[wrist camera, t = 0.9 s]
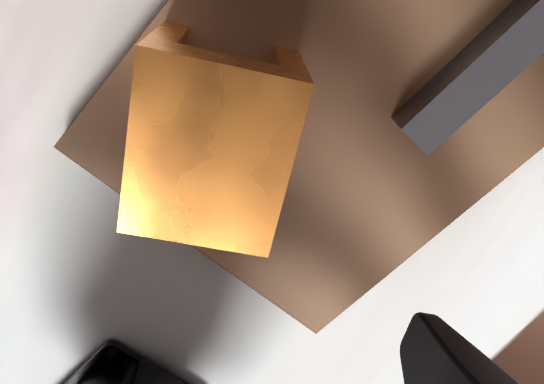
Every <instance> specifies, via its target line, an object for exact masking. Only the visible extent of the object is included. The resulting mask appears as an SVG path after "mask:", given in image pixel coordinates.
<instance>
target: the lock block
mask: <svg viewBox="0 0 544 384" xmlns="http://www.w3.org/2000/svg"><path fill="white" fill-rule="evenodd" d="M189 29H190V26H186V25H182V24H177V23H173V22H169V21H164V22H163V23H162V24H160V25H159V26H158V27H157V28H156V29H154V30H153V31H152V32H151V33H150V34H148V35H147V36H146V37H145V38H144V39H142V40H141V41H140V42H139V43H137V44H136V50H135V59H134V69H133V79H132V88H131V98H130V108H129V117H128V127H127V137H126V146H125V156H124V166H123V175H122V185H121V195H120V204H119V214H118V224H117V232H118V233H124V234H130V235H136V236H142V237H148V238H154V239H159V240H165V241H171V242H177V243H183V244H189V245H195V246H201V247H207V248H213V249H219V250H225V251H231V252H237V253H243V254H249V255H255V256H261V257H266V258H268V256H269V253H270V249H271V245H272V241H273V238H274V234H275V230H276V227H277V223H278V219H279V215H280V212H281V208H282V204H283V200H284V197H285V193H286V189H287V186H288V182H289V178H290V174H291V171H292V167H293V163H294V159H295V156H296V152H297V148H298V144H299V141H300V137H301V133H302V130H303V126H304V122H305V118H306V115H307V111H308V107H309V103H310V100H311V96H312V92H313V89H314V85H315V84H314V82H313V80H312V78H311V75H310V73H309V71H308V69H307V67H306V65H305V63H304V61H303V59H302V57H301V55H300V53H299V51H295V50H291V49H287V48H282V47H278V46H275V50H274V55H273V59H272V64H270V63H265V62H261V61H256V60H252V59H247V58H243V57H239V56H234V55H230V54H225V53H221V52H216V51H212V50H207V49H203V48H198V47H194V46H189V45H187V42H188V36H189Z"/></svg>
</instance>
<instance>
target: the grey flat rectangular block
mask: <svg viewBox="0 0 544 384" xmlns="http://www.w3.org/2000/svg"><path fill="white" fill-rule="evenodd" d="M543 53H544V0H514V1H513V2H512V3H510V4H509V5H508V6H507V7H506V8H505V9H504V10H503V11H502V12H501V13H500V14H499V15H498V16H497V17H496V18H495V19H494V20H493V21H491V22H490V23H489V24H488V25H487V26H486V27H485V28H484V29H483V30H482V31H481V32H480V33H479V34H478V35H477V36H476V37H475V38H474V39H473V40H471V41H470V42H469V43H468V44H467V45H466V46H465V47H464V48H463V49H462V50H461V51H460V52H459V53H458V54H457V55H456V56H455V57H454V58H452V59H451V60H450V61H449V62H448V63H447V64H446V65H445V66H444V67H443V68H442V69H441V70H440V71H439V72H438V73H437V74H436V75H435V76H433V77H432V78H431V79H430V80H429V81H428V82H427V83H426V84H425V85H424V86H423V87H422V88H421V89H420V90H419V91H418V92H417V93H416V94H415V95H413V96H412V97H411V98H410V99H409V100H408V101H407V102H406V103H405V104H404V105H403V106H402V107H401V108H400V109H399V110H398V111H397V112H396V113H394V114H393V115H392V116H391V118H392V119H393V120H394V122H395V123H396V124H397V125H398V126H399V128H400V129H401V130H402V131H403V132H404V133H405V134H406V135H407V136H408V137H409V138H410V139H411V140H412V141H413V142H414V143H415V144H416V145H417V146H418V147H419V148H420V149H421V150H422V151H423V152H424V153H425V154H426V155H427V156H428V155H429V154H431V153H432V152H433V151H434V150H435V149H436V148H437V147H438V146H440V145H441V144H442V143H443V142H444V141H445V140H446V139H447V138H449V137H450V136H451V135H452V134H453V133H454V132H455V131H456V130H458V129H459V128H460V127H461V126H462V125H463V124H464V123H465V122H467V121H468V120H469V119H470V118H471V117H472V116H473V115H474V114H476V113H477V112H478V111H479V110H480V109H481V108H482V107H483V106H485V105H486V104H487V103H488V102H489V101H490V100H491V99H492V98H494V97H495V96H496V95H497V94H498V93H499V92H500V91H501V90H503V89H504V88H505V87H506V86H507V85H508V84H509V83H510V82H512V81H513V80H514V79H515V78H516V77H517V76H518V75H519V74H521V73H522V72H523V71H524V70H525V69H526V68H527V67H528V66H530V65H531V64H532V63H533V62H534V61H535V60H536V59H537V58H539V57H540V56H541V55H542V54H543Z"/></svg>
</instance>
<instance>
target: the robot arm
mask: <svg viewBox="0 0 544 384" xmlns="http://www.w3.org/2000/svg"><path fill="white" fill-rule="evenodd" d="M109 349H112V350H114V351H111V350H109ZM400 358H401V364H402V371H403V377H404V384H519V383H518V382H517V381H516V380H515V379H513V378H512V377H511V376H510V375H508V374H507V373H506V372H505V371H504V370H503V369H501V368H500V367H499V366H498V365H496V364H495V363H494V362H493V361H492V360H490V359H489V358H488V357H487V356H486V355H484V354H483V353H482V352H481V351H480V350H478V349H477V348H476V347H475V346H473V345H472V344H471V343H470V342H469V341H467V340H466V339H465V338H464V337H463V336H461V335H460V334H459V333H458V332H456V331H455V330H454V329H453V328H452V327H450V326H449V325H448V324H447V323H446V322H444V321H443V320H442V319H441V318H440V317H438V316H436V315H433V314H427V313H421V312H418V313H416V314H415V315H414V316H413V317H412V319H411V322H410V324H409V326H408V328H407V330H406V333H405V335H404V337H403V339H402V342H401V345H400ZM64 384H189V383H187V382H186V381H184V380H182V379H181V378H179V377H177V376H175V375H174V374H172V373H170V372H169V371H167V370H165V369H164V368H162V367H160V366H159V365H157V364H155V363H153V362H152V361H150V360H148V359H147V358H145V357H143V356H142V355H140V354H138V353H137V352H135V351H133V350H132V349H130V348H128V347H126V346H125V345H123V344H121V343H120V342H118V341H115V340H109V341H107V342H105V343H104V344H103V345H102V346H101V347H100V348H99V349H98V350H97V351H96V352H95V353H94V354H93V355H92V356H91V357H90V358H89V359H88V360H87V361H86V362H85V363H84V364H83V365H82V366H81V367H80V368H79V369H78V370H77V371H76V372H75V373H74V374H73V375H72V376H71V377H70V378H69V379H68V380H67V381H66V382H65V383H64Z"/></svg>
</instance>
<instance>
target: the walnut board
mask: <svg viewBox="0 0 544 384" xmlns="http://www.w3.org/2000/svg"><path fill="white" fill-rule="evenodd" d="M513 1H514V0H168V1H167V3H166V4H165V5H164V6H163V8H162V9H161V10H160V11H159V13H158V14H157V15H156V17H155V18H154V19H153V20H152V22H151V23H150V24H149V26H148V27H147V28H146V29H145V31H144V32H143V33H142V35H141V36H140V37H139V38H138V40H137V41H136V42H135V43H134V45H133V46H132V47H131V49H130V50H129V51H128V52H127V54H126V55H125V56H124V58H123V59H122V60H121V61H120V63H119V64H118V65H117V66H116V68H115V69H114V70H113V72H112V73H111V74H110V75H109V77H108V78H107V79H106V81H105V82H104V83H103V84H102V86H101V87H100V88H99V89H98V91H97V92H96V93H95V95H94V96H93V97H92V98H91V100H90V101H89V102H88V104H87V105H86V106H85V107H84V109H83V110H82V111H81V112H80V114H79V115H78V116H77V118H76V119H75V120H74V121H73V123H72V124H71V125H70V127H69V128H68V129H67V130H66V132H65V133H64V134H63V135H62V137H61V138H60V139H59V141H58V142H57V143H56V144H55V146H54V148H56V149H57V150H59V151H60V152H61V153H63V154H64V155H66V156H67V157H68V158H70V159H71V160H73V161H74V162H76V163H77V164H78V165H80V166H81V167H83V168H84V169H85V170H87V171H88V172H90V173H91V174H92V175H94V176H95V177H97V178H98V179H99V180H101V181H102V182H104V183H105V184H106V185H108V186H109V187H111V188H112V189H113V190H115V191H116V192H118V193H119V194H120V195H121V185H122V175H123V166H124V156H125V146H126V137H127V127H128V117H129V108H130V98H131V88H132V79H133V69H134V59H135V50H136V44H137V43H139V42H140V41H141V40H142V39H144V38H145V37H146V36H147V35H148V34H150V33H151V32H152V31H153V30H154V29H156V28H157V27H158V26H159V25H160V24H162V23H163V22H164V21H169V22H173V23H177V24H182V25H186V26H190V29H189V36H188V42H187V45H189V46H194V47H198V48H203V49H207V50H212V51H216V52H221V53H225V54H230V55H234V56H239V57H243V58H247V59H252V60H256V61H261V62H265V63H270V64H272V59H273V55H274V50H275V46H278V47H282V48H287V49H291V50H295V51H299V53H300V55H301V57H302V59H303V61H304V63H305V65H306V67H307V69H308V71H309V73H310V75H311V78H312V80H313V82H314V84H315V85H314V89H313V92H312V96H311V100H310V103H309V107H308V111H307V115H306V118H305V122H304V126H303V130H302V133H301V137H300V141H299V144H298V148H297V152H296V156H295V159H294V163H293V167H292V171H291V174H290V178H289V182H288V186H287V189H286V193H285V197H284V200H283V204H282V208H281V212H280V215H279V219H278V223H277V227H276V230H275V234H274V238H273V241H272V245H271V249H270V253H269V256H268V258H266V257H261V256H255V255H249V254H243V253H237V252H231V251H225V250H219V249H213V248H207V247H201V246H195V245H192V246H193V247H195V248H196V249H198V250H199V251H200V252H202V253H203V254H205V255H206V256H207V257H209V258H210V259H212V260H213V261H214V262H216V263H217V264H219V265H220V266H221V267H223V268H224V269H226V270H227V271H229V272H230V273H231V274H233V275H234V276H236V277H237V278H238V279H240V280H241V281H243V282H244V283H245V284H247V285H248V286H250V287H251V288H252V289H254V290H255V291H257V292H258V293H259V294H261V295H262V296H264V297H265V298H266V299H268V300H269V301H271V302H272V303H273V304H275V305H276V306H278V307H279V308H280V309H282V310H283V311H285V312H286V313H287V314H289V315H290V316H292V317H293V318H294V319H296V320H297V321H299V322H300V323H302V324H303V325H304V326H306V327H307V328H309V329H310V330H311V331H313V332H314V333H318V332H319V331H320V330H321V329H322V328H324V327H325V326H326V325H327V324H329V323H330V322H331V321H332V320H333V319H335V318H336V317H337V316H338V315H340V314H341V313H342V312H343V311H344V310H346V309H347V308H348V307H349V306H350V305H352V304H353V303H354V302H355V301H357V300H358V299H359V298H360V297H361V296H363V295H364V294H365V293H366V292H368V291H369V290H370V289H371V288H372V287H374V286H375V285H376V284H377V283H379V282H380V281H381V280H382V279H383V278H385V277H386V276H387V275H388V274H389V273H391V272H392V271H393V270H394V269H396V268H397V267H398V266H399V265H400V264H402V263H403V262H404V261H405V260H407V259H408V258H409V257H410V256H411V255H413V254H414V253H415V252H416V251H417V250H419V249H420V248H421V247H422V246H424V245H425V244H426V243H427V242H428V241H430V240H431V239H432V238H433V237H435V236H436V235H437V234H438V233H439V232H441V231H442V230H443V229H444V228H446V227H447V226H448V225H449V224H450V223H452V222H453V221H454V220H455V219H456V218H458V217H459V216H460V215H461V214H463V213H464V212H465V211H466V210H467V209H469V208H470V207H471V206H472V205H474V204H475V203H476V202H477V201H478V200H480V199H481V198H482V197H483V196H485V195H486V194H487V193H488V192H489V191H491V190H492V189H493V188H494V187H495V186H497V185H498V184H499V183H500V182H502V181H503V180H504V179H505V178H506V177H508V176H509V175H510V174H511V173H513V172H514V171H515V170H516V169H517V168H519V167H520V166H521V165H522V164H524V163H525V162H526V161H527V160H528V159H530V158H531V157H532V156H533V155H534V154H536V153H537V152H538V151H539V150H541V149H542V148H543V147H544V53H543V54H542V55H541V56H540V57H539V58H537V59H536V60H535V61H534V62H533V63H532V64H531V65H530V66H528V67H527V68H526V69H525V70H524V71H523V72H522V73H521V74H519V75H518V76H517V77H516V78H515V79H514V80H513V81H512V82H510V83H509V84H508V85H507V86H506V87H505V88H504V89H503V90H501V91H500V92H499V93H498V94H497V95H496V96H495V97H494V98H492V99H491V100H490V101H489V102H488V103H487V104H486V105H485V106H483V107H482V108H481V109H480V110H479V111H478V112H477V113H476V114H474V115H473V116H472V117H471V118H470V119H469V120H468V121H467V122H465V123H464V124H463V125H462V126H461V127H460V128H459V129H458V130H456V131H455V132H454V133H453V134H452V135H451V136H450V137H449V138H447V139H446V140H445V141H444V142H443V143H442V144H441V145H440V146H438V147H437V148H436V149H435V150H434V151H433V152H432V153H431V154H429V155H428V156H427V155H426V154H425V153H424V152H423V151H422V150H421V149H420V148H419V147H418V146H417V145H416V144H415V143H414V142H413V141H412V140H411V139H410V138H409V137H408V136H407V135H406V134H405V133H404V132H403V131H402V130H401V129H400V128H399V126H398V125H397V124H396V123H395V122H394V120H393V119H392V118H391V116H392V115H393V114H394V113H396V112H397V111H398V110H399V109H400V108H401V107H402V106H403V105H404V104H405V103H406V102H407V101H408V100H409V99H410V98H411V97H412V96H413V95H415V94H416V93H417V92H418V91H419V90H420V89H421V88H422V87H423V86H424V85H425V84H426V83H427V82H428V81H429V80H430V79H431V78H432V77H433V76H435V75H436V74H437V73H438V72H439V71H440V70H441V69H442V68H443V67H444V66H445V65H446V64H447V63H448V62H449V61H450V60H451V59H452V58H454V57H455V56H456V55H457V54H458V53H459V52H460V51H461V50H462V49H463V48H464V47H465V46H466V45H467V44H468V43H469V42H470V41H471V40H473V39H474V38H475V37H476V36H477V35H478V34H479V33H480V32H481V31H482V30H483V29H484V28H485V27H486V26H487V25H488V24H489V23H490V22H491V21H493V20H494V19H495V18H496V17H497V16H498V15H499V14H500V13H501V12H502V11H503V10H504V9H505V8H506V7H507V6H508V5H509V4H510V3H512V2H513Z"/></svg>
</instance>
